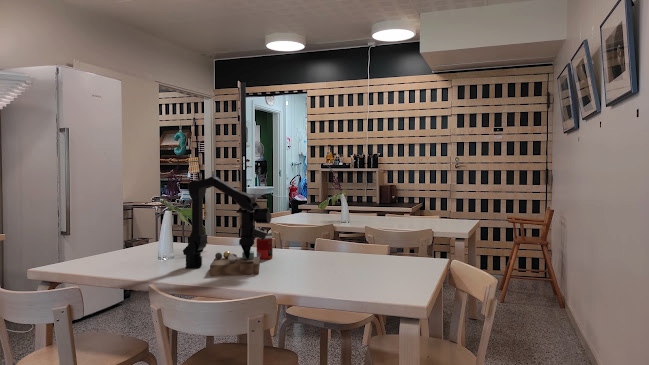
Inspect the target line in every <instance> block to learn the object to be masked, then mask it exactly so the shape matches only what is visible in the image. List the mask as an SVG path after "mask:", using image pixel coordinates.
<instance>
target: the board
mask: <svg viewBox="0 0 649 365" xmlns="http://www.w3.org/2000/svg"><path fill="white" fill-rule="evenodd" d="M237 258H238V259H237V261H236V262H235V263H230V262H229V261H228V259H226V258H224V257H222V258H221V259H216V257H215V258H213V260H212V262H211V263H210V266H209V276H210V277H215V276H216V277H220V276H221V277H222V276H250V275H249V274H260V267H261V266H260V265H261V263H260V262H261V260H260V257H257V256H254V259H242V256H239V257H238V256H237Z"/></svg>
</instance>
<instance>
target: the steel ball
mask: <svg viewBox="0 0 649 365" xmlns="http://www.w3.org/2000/svg"><path fill="white" fill-rule="evenodd" d="M237 257H238V255H237V254H235V253H230V255H229V256H228V261H229V262H230V263H235V262H236V261H237V259H238V258H237Z"/></svg>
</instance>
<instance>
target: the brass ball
mask: <svg viewBox="0 0 649 365" xmlns="http://www.w3.org/2000/svg"><path fill="white" fill-rule="evenodd" d="M230 254H231V252H230V251H228V250H227V251H224V253H223V254H222V257H223V258H226V259H228V256H229V255H230Z"/></svg>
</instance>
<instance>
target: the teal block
mask: <svg viewBox="0 0 649 365" xmlns="http://www.w3.org/2000/svg"><path fill="white" fill-rule="evenodd" d="M241 255H242V256H241V257H242V259H254V257H255V251H253V250H250V255H249V258H246V256H245V254H244V251H243V250H242V254H241Z"/></svg>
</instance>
